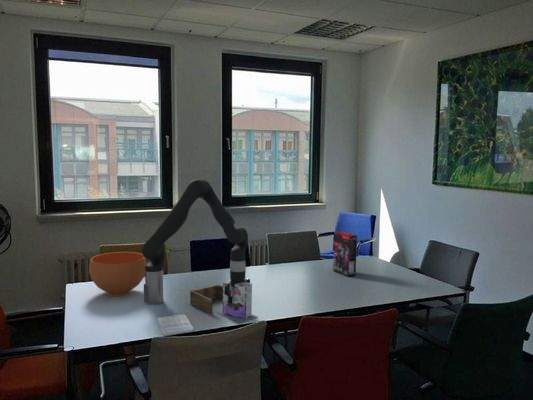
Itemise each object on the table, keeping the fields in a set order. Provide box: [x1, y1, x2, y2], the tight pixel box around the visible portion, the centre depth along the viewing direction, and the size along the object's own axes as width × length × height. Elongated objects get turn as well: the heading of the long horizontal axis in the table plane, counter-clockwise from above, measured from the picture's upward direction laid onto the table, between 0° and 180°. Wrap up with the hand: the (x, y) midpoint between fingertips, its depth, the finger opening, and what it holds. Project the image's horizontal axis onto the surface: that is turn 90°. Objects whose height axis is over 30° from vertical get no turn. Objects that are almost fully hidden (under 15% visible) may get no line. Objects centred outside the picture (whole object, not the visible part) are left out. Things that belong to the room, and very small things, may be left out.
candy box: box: [222, 279, 253, 319], centre depth 219 cm, size 14×6×16 cm, turn 60°
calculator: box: [157, 314, 194, 336], centre depth 206 cm, size 13×20×2 cm, turn 22°
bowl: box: [88, 251, 148, 298], centre depth 250 cm, size 30×30×20 cm
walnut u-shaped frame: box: [189, 284, 223, 315], centre depth 234 cm, size 18×19×7 cm
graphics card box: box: [332, 231, 358, 277], centre depth 298 cm, size 17×7×27 cm, turn 28°
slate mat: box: [217, 310, 258, 324], centre depth 220 cm, size 12×17×1 cm
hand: (237, 301), depth 219 cm, fingers open, 8 cm apart
